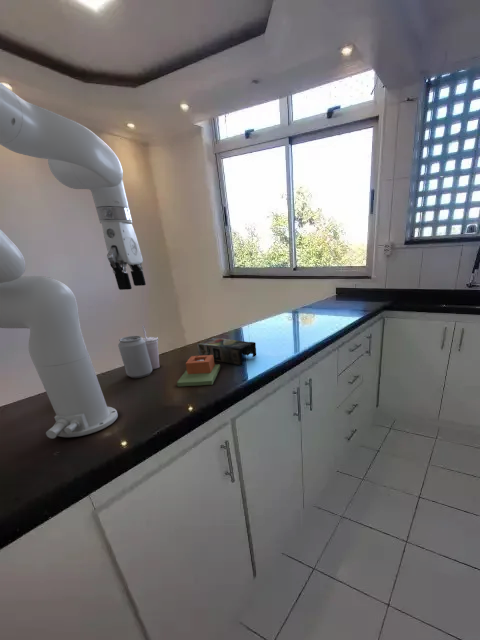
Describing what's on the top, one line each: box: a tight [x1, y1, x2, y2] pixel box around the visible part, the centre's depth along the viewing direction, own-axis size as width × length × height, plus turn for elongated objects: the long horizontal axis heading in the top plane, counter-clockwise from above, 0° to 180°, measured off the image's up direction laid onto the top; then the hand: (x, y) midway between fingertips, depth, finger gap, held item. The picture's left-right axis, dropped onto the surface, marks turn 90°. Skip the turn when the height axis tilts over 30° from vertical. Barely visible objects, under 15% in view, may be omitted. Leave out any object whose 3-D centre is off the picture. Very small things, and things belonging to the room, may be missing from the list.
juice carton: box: [197, 337, 257, 366], centre depth 110 cm, size 20×10×6 cm, turn 62°
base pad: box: [176, 359, 221, 387], centre depth 95 cm, size 14×10×4 cm
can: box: [117, 335, 153, 379], centre depth 96 cm, size 8×8×12 cm
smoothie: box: [141, 325, 160, 370], centre depth 102 cm, size 6×6×14 cm
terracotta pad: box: [185, 355, 216, 374], centre depth 97 cm, size 7×7×4 cm
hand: (133, 287), depth 87 cm, fingers open, 9 cm apart
